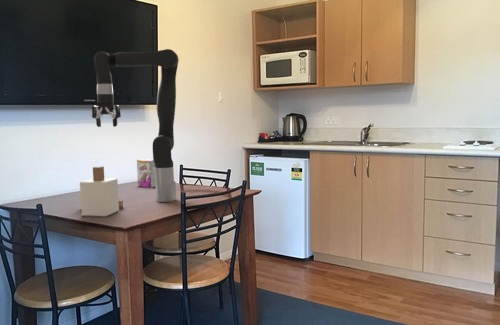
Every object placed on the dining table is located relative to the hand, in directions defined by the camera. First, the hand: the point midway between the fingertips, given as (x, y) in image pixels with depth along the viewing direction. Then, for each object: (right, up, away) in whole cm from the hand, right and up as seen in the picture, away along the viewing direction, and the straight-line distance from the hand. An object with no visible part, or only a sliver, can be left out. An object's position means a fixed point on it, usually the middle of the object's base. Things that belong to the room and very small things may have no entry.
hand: (106, 126), depth 229 cm
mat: (+4, -41, -22) cm, 46 cm away
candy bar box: (+8, -33, +51) cm, 61 cm away
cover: (+4, -40, -22) cm, 46 cm away
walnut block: (+9, -40, -11) cm, 42 cm away
